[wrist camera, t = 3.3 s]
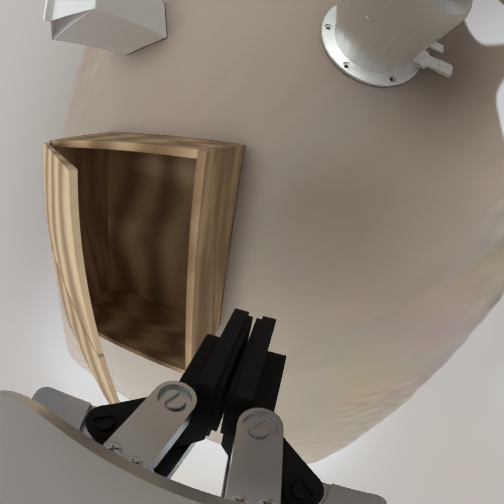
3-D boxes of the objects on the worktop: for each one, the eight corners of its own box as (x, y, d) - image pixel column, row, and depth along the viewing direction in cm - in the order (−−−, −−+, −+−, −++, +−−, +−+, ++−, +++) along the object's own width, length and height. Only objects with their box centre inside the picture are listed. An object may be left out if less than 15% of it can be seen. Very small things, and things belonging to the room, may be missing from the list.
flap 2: (104, 356, 18) (98, 358, 18) (131, 430, 24) (127, 432, 24) (53, 245, 31) (50, 246, 30) (70, 321, 37) (68, 321, 36)
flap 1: (77, 169, 12) (69, 170, 12) (103, 352, 18) (97, 354, 18) (47, 142, 25) (44, 143, 24) (53, 242, 31) (50, 243, 30)
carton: (244, 145, 32) (206, 150, 22) (219, 324, 44) (191, 376, 34) (108, 132, 35) (49, 140, 25) (112, 286, 48) (72, 321, 37)
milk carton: (127, 55, 30) (25, 37, 13) (126, 20, 27) (33, -7, 10) (167, 38, 28) (66, 0, 11) (164, 2, 25) (75, -44, 8)
